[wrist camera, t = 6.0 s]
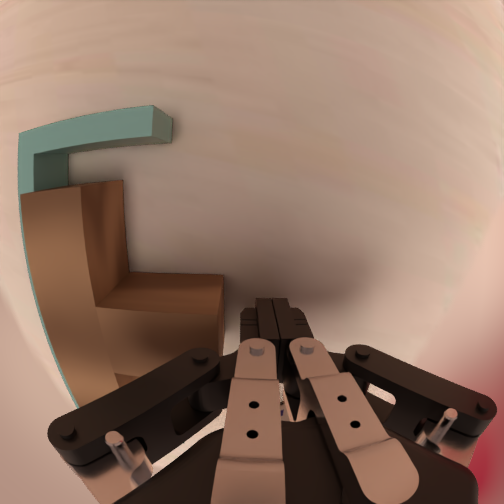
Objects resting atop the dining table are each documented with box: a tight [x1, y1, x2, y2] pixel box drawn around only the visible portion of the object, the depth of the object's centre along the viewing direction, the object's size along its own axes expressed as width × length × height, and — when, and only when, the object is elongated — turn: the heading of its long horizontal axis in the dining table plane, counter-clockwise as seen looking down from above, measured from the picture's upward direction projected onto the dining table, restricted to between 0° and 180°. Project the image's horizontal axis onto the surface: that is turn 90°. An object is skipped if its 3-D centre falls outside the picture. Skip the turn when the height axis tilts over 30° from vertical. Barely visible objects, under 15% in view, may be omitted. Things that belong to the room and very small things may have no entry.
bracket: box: [18, 105, 173, 409], centre depth 12 cm, size 18×7×3 cm, turn 178°
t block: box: [20, 180, 224, 408], centre depth 12 cm, size 13×8×4 cm, turn 178°
